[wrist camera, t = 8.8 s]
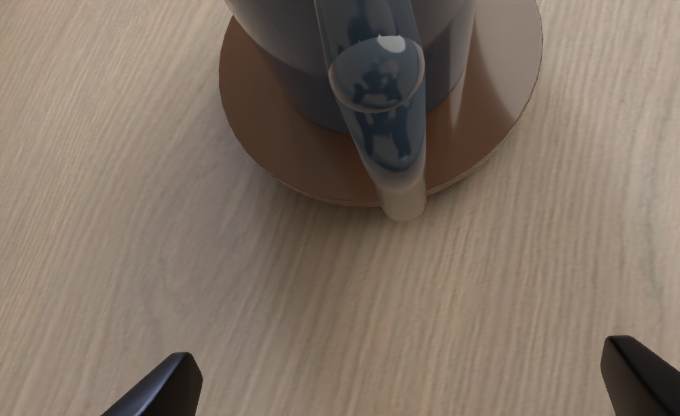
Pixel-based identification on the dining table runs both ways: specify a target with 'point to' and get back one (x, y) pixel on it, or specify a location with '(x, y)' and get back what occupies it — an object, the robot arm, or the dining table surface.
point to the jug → (377, 92)
